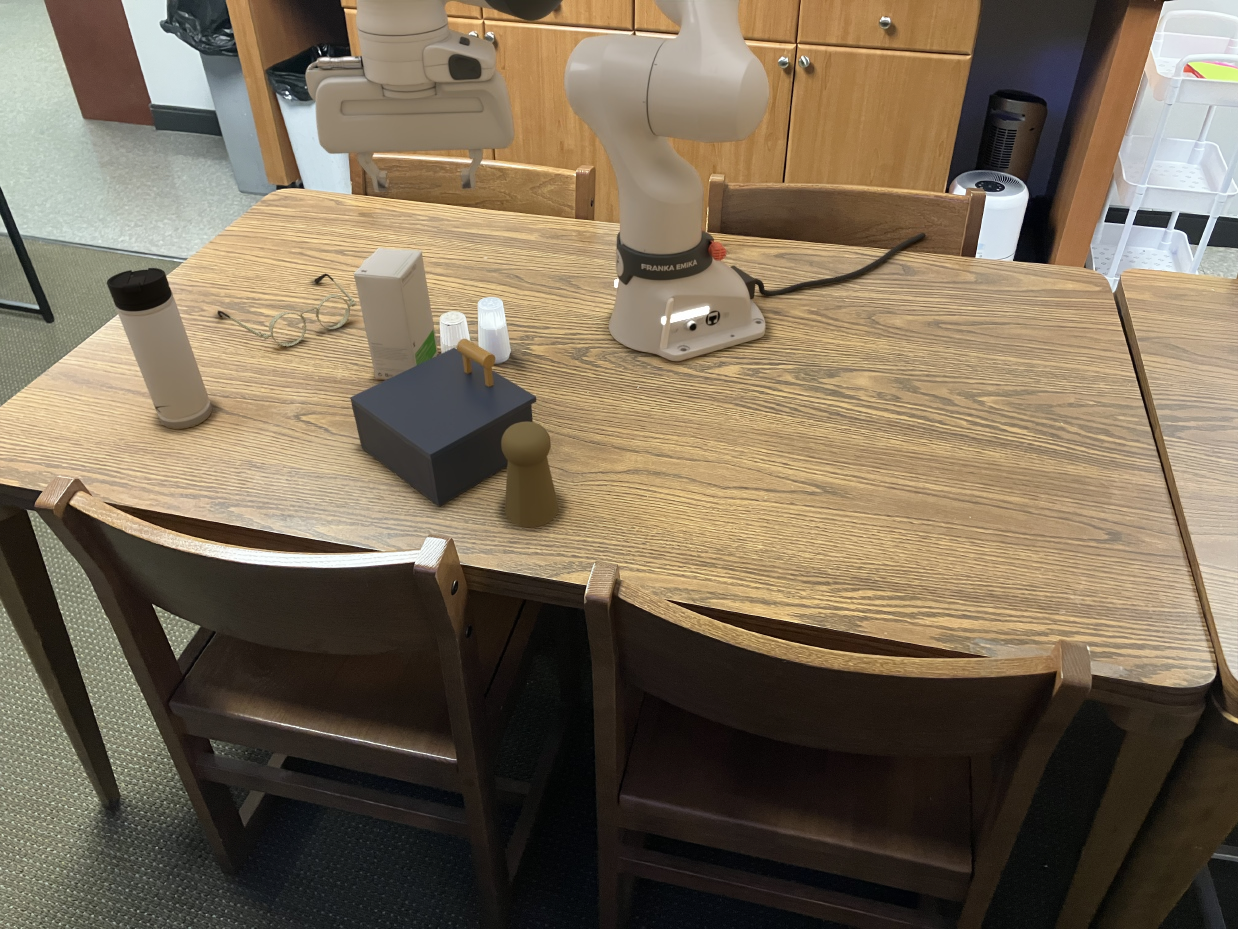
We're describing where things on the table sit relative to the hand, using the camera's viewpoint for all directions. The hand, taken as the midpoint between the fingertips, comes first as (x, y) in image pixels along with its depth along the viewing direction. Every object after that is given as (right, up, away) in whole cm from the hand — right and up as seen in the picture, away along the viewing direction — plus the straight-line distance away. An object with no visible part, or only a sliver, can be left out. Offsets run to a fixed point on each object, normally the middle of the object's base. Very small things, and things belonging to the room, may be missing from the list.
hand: (426, 188), depth 101 cm
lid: (+1, -23, +7) cm, 24 cm away
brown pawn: (+11, -35, +3) cm, 37 cm away
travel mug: (-34, -24, +17) cm, 45 cm away
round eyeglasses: (-27, -9, +36) cm, 46 cm away
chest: (0, -28, +11) cm, 30 cm away
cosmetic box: (-8, -17, +25) cm, 31 cm away
